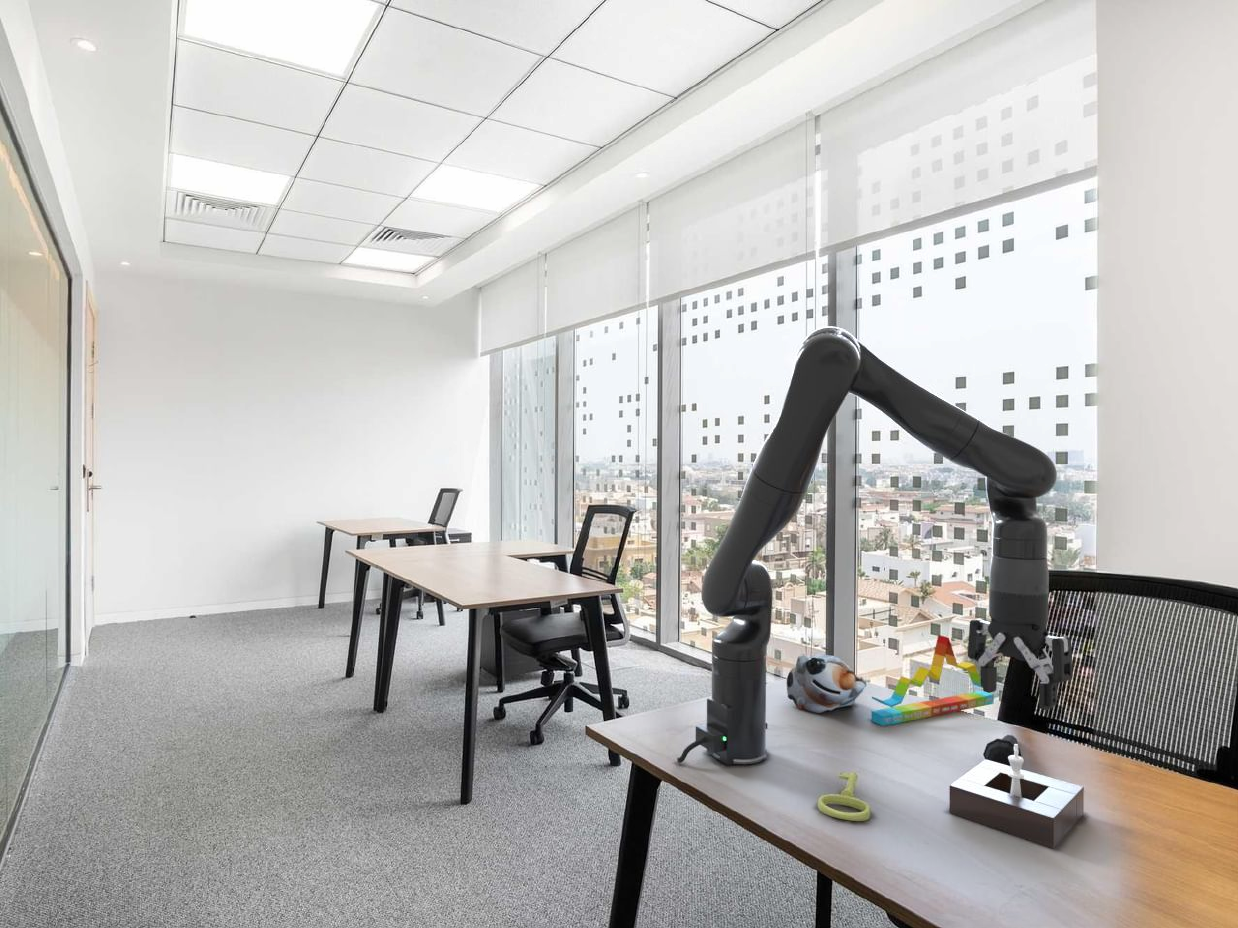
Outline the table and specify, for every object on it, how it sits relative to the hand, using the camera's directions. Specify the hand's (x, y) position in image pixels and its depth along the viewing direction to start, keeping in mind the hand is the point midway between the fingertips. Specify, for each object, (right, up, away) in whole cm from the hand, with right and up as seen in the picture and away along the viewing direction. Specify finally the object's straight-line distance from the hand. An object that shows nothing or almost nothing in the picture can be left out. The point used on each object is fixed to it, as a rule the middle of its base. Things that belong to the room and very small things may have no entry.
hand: (1016, 699), depth 107 cm
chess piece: (0, -17, 0) cm, 17 cm away
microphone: (+9, -16, +19) cm, 26 cm away
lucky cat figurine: (-15, -16, +45) cm, 50 cm away
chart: (+6, -16, +42) cm, 46 cm away
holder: (0, -16, 0) cm, 16 cm away
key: (-24, -17, +3) cm, 29 cm away
